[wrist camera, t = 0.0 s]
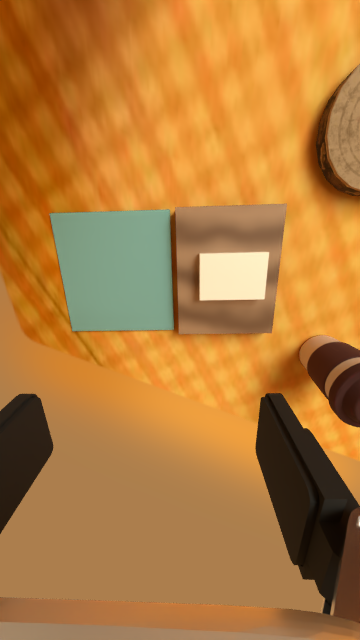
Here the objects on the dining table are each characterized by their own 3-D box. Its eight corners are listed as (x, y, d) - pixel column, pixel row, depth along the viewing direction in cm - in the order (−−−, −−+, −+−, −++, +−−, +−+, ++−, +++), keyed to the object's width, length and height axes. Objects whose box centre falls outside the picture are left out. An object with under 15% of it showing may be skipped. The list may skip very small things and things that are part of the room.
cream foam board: (199, 253, 35) (199, 253, 33) (264, 251, 34) (269, 252, 32) (199, 297, 37) (199, 300, 35) (260, 296, 37) (264, 299, 35)
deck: (176, 209, 35) (175, 207, 33) (280, 206, 34) (286, 203, 32) (179, 328, 42) (178, 334, 39) (266, 327, 41) (271, 333, 39)
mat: (50, 213, 36) (49, 213, 35) (169, 209, 35) (169, 209, 35) (73, 330, 42) (72, 331, 42) (174, 328, 42) (173, 329, 41)
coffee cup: (295, 327, 41) (352, 372, 27) (350, 327, 41) (438, 372, 26) (287, 374, 44) (334, 437, 30) (338, 374, 44) (411, 438, 30)
